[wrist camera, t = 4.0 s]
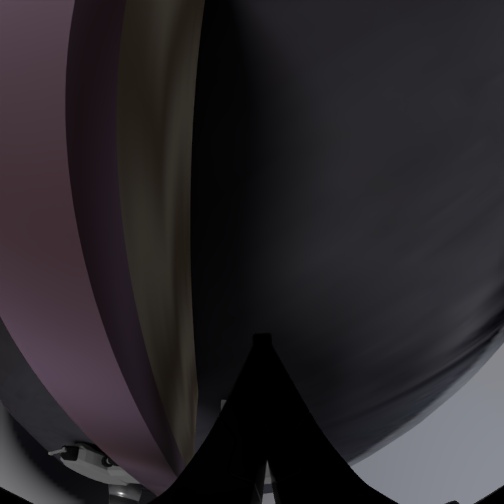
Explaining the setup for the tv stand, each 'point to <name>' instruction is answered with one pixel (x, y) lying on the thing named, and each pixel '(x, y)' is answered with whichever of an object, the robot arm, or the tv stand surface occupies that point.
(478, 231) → the tv stand surface
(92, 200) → the beige flat panel
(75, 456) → the robot toy
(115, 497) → the plastic bottle
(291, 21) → the tv stand surface
